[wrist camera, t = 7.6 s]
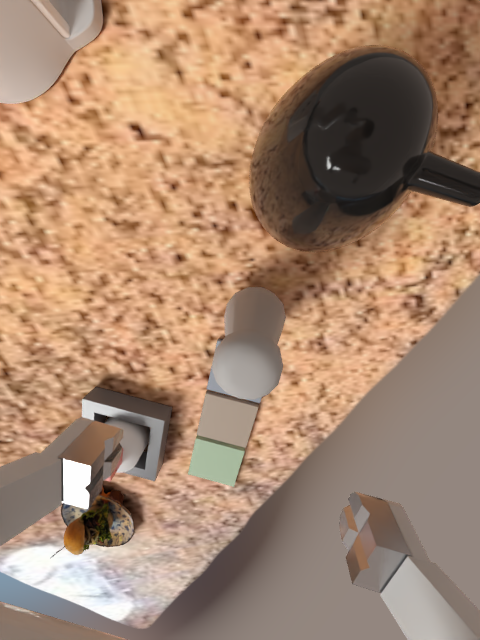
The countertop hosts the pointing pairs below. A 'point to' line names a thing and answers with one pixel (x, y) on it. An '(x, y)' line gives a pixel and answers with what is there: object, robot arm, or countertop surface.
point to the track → (222, 434)
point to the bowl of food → (97, 523)
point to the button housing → (137, 412)
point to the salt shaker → (250, 344)
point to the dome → (129, 443)
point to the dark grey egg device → (351, 151)
